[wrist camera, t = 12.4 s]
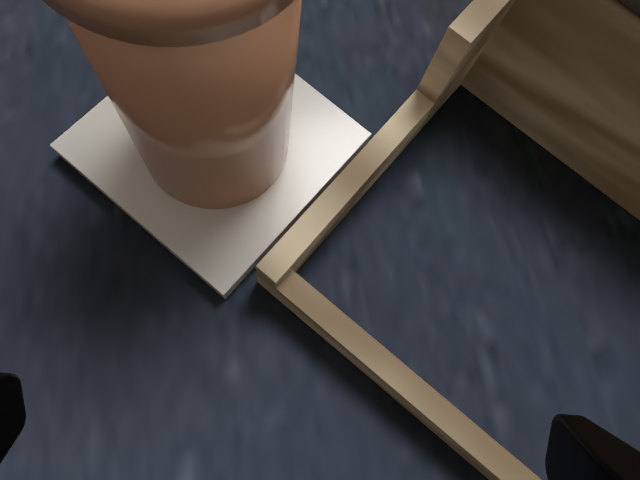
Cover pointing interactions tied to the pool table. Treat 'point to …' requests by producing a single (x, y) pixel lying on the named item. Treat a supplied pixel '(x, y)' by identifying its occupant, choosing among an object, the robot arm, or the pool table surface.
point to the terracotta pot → (197, 87)
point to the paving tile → (217, 224)
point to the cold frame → (523, 112)
